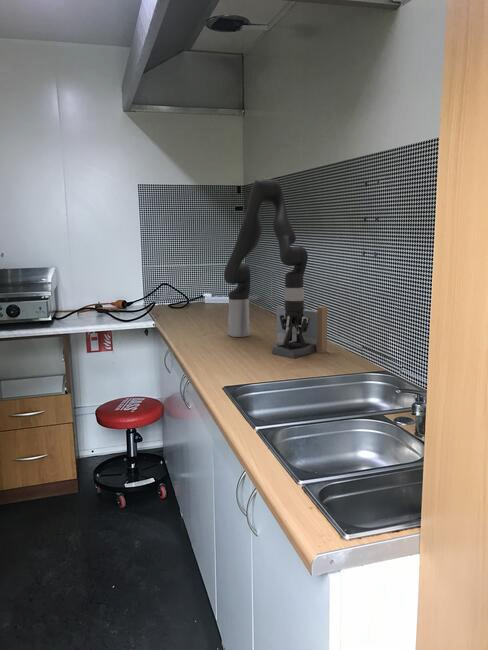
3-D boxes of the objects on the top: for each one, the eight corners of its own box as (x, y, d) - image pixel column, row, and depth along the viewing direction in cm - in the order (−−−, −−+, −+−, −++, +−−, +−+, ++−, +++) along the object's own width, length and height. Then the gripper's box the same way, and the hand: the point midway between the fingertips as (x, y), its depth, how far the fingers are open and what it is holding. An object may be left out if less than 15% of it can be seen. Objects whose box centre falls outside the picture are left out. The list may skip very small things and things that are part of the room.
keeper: (272, 353, 209) (272, 346, 208) (294, 347, 218) (294, 340, 218) (293, 358, 201) (293, 350, 201) (316, 351, 211) (316, 344, 210)
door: (275, 344, 226) (275, 302, 222) (280, 342, 228) (280, 301, 225) (321, 353, 209) (322, 307, 205) (326, 351, 211) (327, 306, 208)
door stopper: (305, 343, 212) (305, 314, 210) (306, 347, 206) (306, 316, 204) (282, 343, 212) (282, 314, 210) (283, 347, 206) (282, 317, 204)
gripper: (274, 298, 208) (274, 340, 211) (302, 301, 198) (302, 346, 201) (286, 296, 213) (286, 337, 217) (314, 299, 203) (314, 342, 207)
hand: (294, 341), depth 209 cm, fingers open, 4 cm apart
